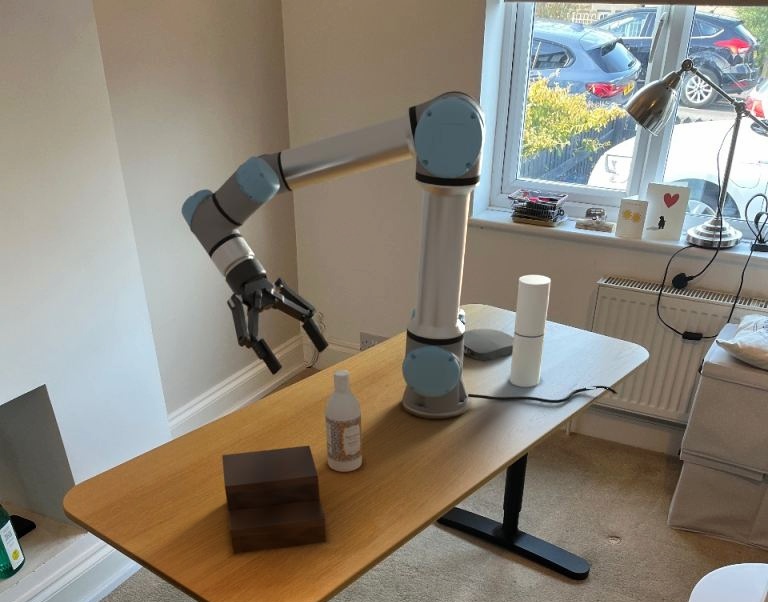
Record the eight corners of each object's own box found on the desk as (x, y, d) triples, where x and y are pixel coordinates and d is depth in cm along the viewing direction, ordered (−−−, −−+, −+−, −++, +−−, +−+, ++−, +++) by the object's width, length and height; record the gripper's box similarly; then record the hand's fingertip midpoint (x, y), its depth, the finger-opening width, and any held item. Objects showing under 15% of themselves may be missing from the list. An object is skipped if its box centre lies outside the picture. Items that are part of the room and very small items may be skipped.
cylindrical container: (504, 381, 188) (512, 280, 174) (520, 372, 192) (530, 272, 178) (528, 389, 184) (539, 286, 170) (544, 380, 188) (556, 279, 174)
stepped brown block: (312, 490, 147) (309, 445, 142) (326, 541, 133) (323, 493, 128) (228, 501, 144) (222, 454, 139) (233, 554, 131) (226, 505, 125)
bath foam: (339, 476, 151) (334, 383, 140) (321, 461, 156) (316, 370, 145) (368, 466, 155) (366, 374, 143) (350, 452, 159) (347, 362, 148)
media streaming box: (523, 351, 204) (524, 340, 202) (480, 363, 197) (480, 352, 196) (488, 334, 214) (488, 324, 212) (446, 345, 207) (446, 335, 206)
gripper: (275, 264, 159) (332, 349, 160) (183, 295, 143) (247, 390, 144) (293, 242, 154) (352, 331, 155) (198, 272, 137) (265, 371, 138)
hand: (301, 359), depth 149 cm, fingers open, 13 cm apart
